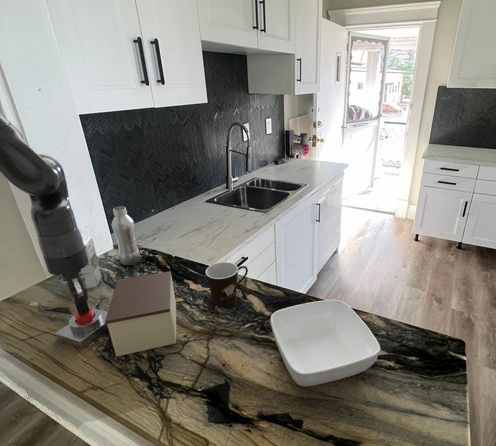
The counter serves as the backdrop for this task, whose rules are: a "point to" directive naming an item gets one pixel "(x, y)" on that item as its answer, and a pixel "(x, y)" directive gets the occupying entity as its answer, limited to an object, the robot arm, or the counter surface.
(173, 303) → the cream hinged box
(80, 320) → the button
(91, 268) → the syrup box
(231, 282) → the coffee mug
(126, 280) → the lid
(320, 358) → the bowl
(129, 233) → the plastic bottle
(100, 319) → the control block
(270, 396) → the counter surface
